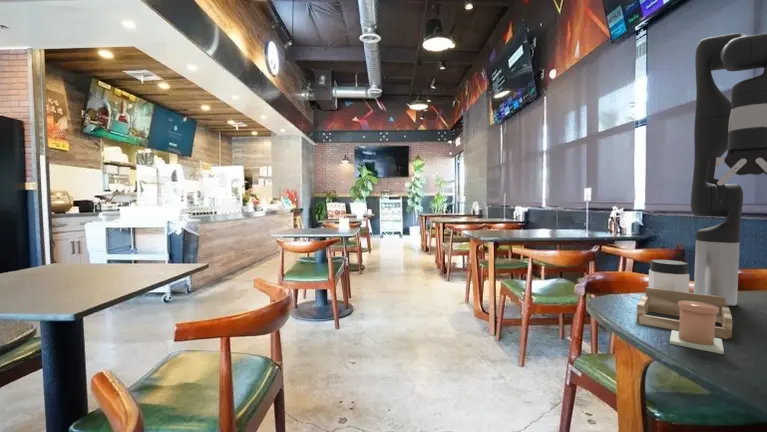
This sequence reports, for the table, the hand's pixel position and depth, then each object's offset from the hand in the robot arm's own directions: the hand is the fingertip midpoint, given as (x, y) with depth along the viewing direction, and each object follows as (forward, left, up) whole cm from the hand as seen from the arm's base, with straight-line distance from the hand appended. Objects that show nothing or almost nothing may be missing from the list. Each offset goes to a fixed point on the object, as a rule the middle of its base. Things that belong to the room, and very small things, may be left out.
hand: (748, 202), depth 83 cm
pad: (+18, -8, -28) cm, 34 cm away
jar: (-12, -14, -28) cm, 34 cm away
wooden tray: (+4, -10, -28) cm, 30 cm away
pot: (+18, -8, -27) cm, 34 cm away
